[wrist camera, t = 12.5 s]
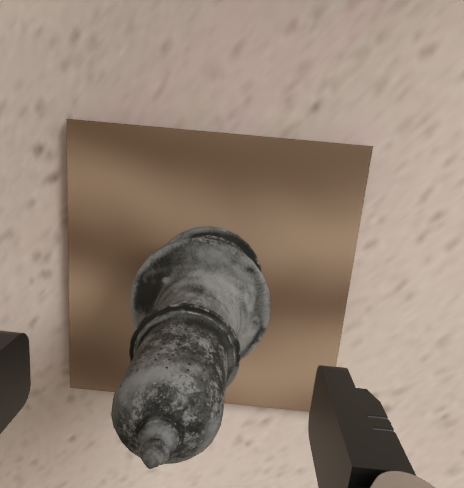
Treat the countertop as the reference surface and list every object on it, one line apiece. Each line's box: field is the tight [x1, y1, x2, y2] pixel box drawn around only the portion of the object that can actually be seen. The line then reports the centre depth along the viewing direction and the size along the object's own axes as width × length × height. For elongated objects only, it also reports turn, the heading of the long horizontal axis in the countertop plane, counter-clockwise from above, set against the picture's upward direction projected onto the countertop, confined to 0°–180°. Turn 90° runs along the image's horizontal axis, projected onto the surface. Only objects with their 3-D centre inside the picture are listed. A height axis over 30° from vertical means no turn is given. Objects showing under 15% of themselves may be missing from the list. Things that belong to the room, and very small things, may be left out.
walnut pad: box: [67, 119, 373, 412], centre depth 21 cm, size 14×14×1 cm
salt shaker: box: [111, 226, 271, 469], centre depth 15 cm, size 6×6×12 cm
